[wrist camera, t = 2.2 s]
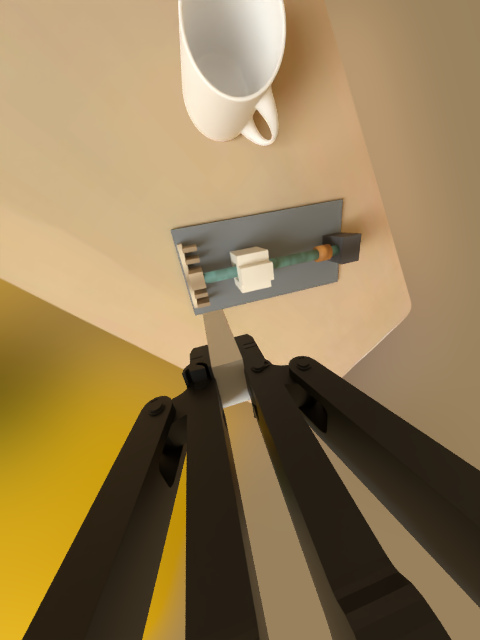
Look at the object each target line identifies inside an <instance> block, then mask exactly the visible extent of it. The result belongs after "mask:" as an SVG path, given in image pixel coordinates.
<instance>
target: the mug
mask: <svg viewBox="0 0 480 640" xmlns="http://www.w3.org/2000/svg"><path fill="white" fill-rule="evenodd" d="M178 10H179V31H180V52H181V73H182V91H183V97H184V102H185V106H186V109H187V112H188V114H189V116H190V118H191V120H192V122H193V123H194V125H195V126H196V128H197V129H198V130H199V131H200V132H201V133H202V134H203V135H205V136H206V137H208V138H209V139H212V140H214V141H219V142H226V141H230V140H232V139H234V138H236V137H237V136H238V135H240V134H242V135H244V136H245V137H246V138H247V139H249V140H250V141H252V142H254V143H255V144H258V145H262V146H266V145H270V144H272V143H273V142H274V141H275V140H276V138H277V135H278V130H279V120H278V113H277V108H276V104H275V100H274V97H273V93H272V88H271V84H272V82H273V80H274V79H275V77H276V75H277V73H278V71H279V68H280V65H281V62H282V59H283V55H284V49H285V41H286V15H285V7H284V1H283V0H178ZM256 110H258V111H259V113H260V114H261V115H262V116H263V118H264V119H265V121H266V122H267V124H268V126H269V128H270V130H271V134H272V138H271V139H270V140H267V139H265V138H264V137H263V136H262V135H261V134H260V133H259V131H258V129H257V128H256V125H255V123H254V120H253V115H254V113H255V111H256Z"/></svg>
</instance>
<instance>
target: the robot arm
mask: <svg viewBox="0 0 480 640" xmlns="http://www.w3.org/2000/svg"><path fill="white" fill-rule="evenodd" d="M203 318H204V324H205V330H206V336H207V342H208V345H205V346H201V347H197V348H193V350H192V351H191V353H190V364H189V365H188V366H186V368H185V369H184V370H183V373H182V375H183V377H184V380H185V383H186V385H187V389H186V390H185V391H184V392H183V393H182V394H180V395H179V396H177V397H175V398H173V399H172V400H171V398H169V397H167V396H160V397H156V398H154V399H153V400H151V401H149V402H148V403H147V404H146V405H145V406H144V408H143V409H142V410H141V412H140V414H139V416H138V418H137V420H136V422H135V424H134V426H133V428H132V430H131V432H130V433H129V435H128V437H127V439H126V441H125V443H124V445H123V447H122V449H121V451H120V453H119V455H118V457H117V458H116V460H115V462H114V464H113V466H112V468H111V470H110V472H109V474H108V476H107V478H106V480H105V481H104V483H103V485H102V487H101V489H100V491H99V493H98V495H97V497H96V499H95V501H94V503H93V504H92V506H91V508H90V510H89V512H88V514H87V516H86V518H85V520H84V522H83V524H82V526H81V528H80V530H79V531H78V533H77V535H76V537H75V539H74V541H73V543H72V545H71V547H70V549H69V551H68V552H67V554H66V556H65V558H64V560H63V562H62V564H61V566H60V568H59V570H58V572H57V574H56V576H55V577H54V579H53V582H52V583H51V585H50V587H49V589H48V591H47V593H46V595H45V597H44V599H43V601H42V602H41V604H40V606H39V608H38V610H37V612H36V614H35V616H34V618H33V620H32V622H31V624H30V625H29V627H28V630H27V631H26V633H25V635H24V637H23V639H22V640H142V638H143V633H144V628H145V625H146V621H147V616H148V612H149V607H150V604H151V599H152V595H153V591H154V587H155V582H156V578H157V574H158V570H159V566H160V561H161V557H162V553H163V549H164V545H165V540H166V536H167V532H168V527H169V523H170V519H171V515H172V511H173V506H174V502H175V498H176V494H177V490H178V485H179V481H180V477H181V472H182V469H183V464H184V460H185V456H186V452H187V482H186V489H187V490H186V494H187V495H186V626H185V627H186V630H185V633H186V634H185V637H186V638H185V640H269V638H268V633H267V627H266V623H265V617H264V612H263V607H262V603H261V597H260V592H259V587H258V581H257V576H256V571H255V566H254V561H253V556H252V551H251V546H250V541H249V536H248V530H247V525H246V520H245V515H244V510H243V505H242V500H241V494H240V489H239V484H238V479H237V474H236V469H235V464H234V459H233V454H232V448H231V444H230V438H229V433H228V428H227V423H226V418H225V414H224V410H223V408H225V407H228V406H231V405H234V404H238V403H241V402H244V401H248V400H250V398H251V401H252V406H253V412H254V417H255V418H256V419H257V421H258V425H259V427H260V430H261V433H262V436H263V438H264V442H265V444H266V447H267V450H268V453H269V456H270V459H271V462H272V464H273V467H274V470H275V473H276V476H277V479H278V482H279V485H280V487H281V490H282V493H283V496H284V499H285V502H286V505H287V507H288V510H289V513H290V516H291V519H292V522H293V525H294V528H295V530H296V533H297V536H298V539H299V542H300V545H301V548H302V551H303V553H304V556H305V559H306V562H307V565H308V568H309V571H310V574H311V576H312V579H313V582H314V585H315V587H316V591H317V593H318V596H319V599H320V602H321V605H322V608H323V611H324V613H325V617H326V620H327V623H328V626H329V629H330V633H331V636H332V640H451V638H450V637H449V635H448V634H447V632H446V630H445V629H444V627H443V626H442V624H441V622H440V621H439V620H438V618H437V616H436V615H435V613H434V612H433V611H432V609H431V608H430V606H429V605H428V603H427V602H426V600H425V599H424V598H423V596H422V595H421V594H420V593H419V591H418V590H417V589H416V588H415V586H414V585H413V584H412V583H411V582H410V581H409V580H407V579H406V578H405V577H404V576H403V575H402V574H401V573H399V572H398V571H397V569H396V568H395V567H394V566H393V564H392V563H391V561H390V560H389V558H388V557H387V555H386V554H385V552H384V550H383V549H382V547H381V545H380V544H379V542H378V540H377V539H376V537H375V535H374V534H373V532H372V530H371V529H370V527H369V525H368V524H367V522H366V520H365V519H364V517H363V515H362V514H361V512H360V510H359V509H358V507H357V505H356V504H355V502H354V500H353V499H352V497H351V495H350V494H349V492H348V490H347V489H346V487H345V485H344V484H343V482H342V480H341V479H340V477H339V475H338V474H337V472H336V470H335V469H334V467H333V465H332V464H331V462H330V460H329V459H328V457H327V455H326V454H325V452H324V450H323V449H322V447H321V445H320V444H319V442H318V440H317V439H316V437H315V435H314V434H313V432H312V430H311V429H310V427H311V428H312V429H313V431H314V432H316V434H317V435H318V436H319V437H320V438H321V439H322V440H323V441H324V442H325V443H326V444H327V445H328V446H329V448H330V449H331V450H332V451H333V452H334V453H335V454H336V455H337V456H338V457H339V458H340V459H341V460H342V461H343V463H345V465H346V466H347V467H348V468H349V469H350V470H351V471H352V472H353V473H354V474H355V475H356V476H357V477H358V479H359V480H360V481H361V482H362V483H363V484H364V485H365V486H366V487H367V488H368V489H369V490H370V491H371V492H372V493H373V494H374V495H375V497H376V498H377V499H378V500H379V501H380V502H381V503H382V504H383V505H384V506H385V507H386V508H387V509H388V510H389V512H390V513H391V514H392V515H393V516H394V517H395V518H396V519H397V520H398V521H399V522H400V523H401V524H402V525H403V526H404V528H405V529H406V530H407V531H408V532H409V533H410V534H411V535H412V536H413V537H414V538H415V539H416V540H417V541H418V542H419V543H420V545H421V546H422V547H423V548H424V549H425V550H426V551H427V552H428V553H429V554H430V555H431V556H432V557H433V558H434V559H435V561H436V562H437V563H438V564H439V565H440V566H441V567H442V568H443V569H444V570H445V571H446V572H447V573H448V574H449V575H450V576H451V577H452V579H453V580H454V581H455V582H456V583H457V584H458V585H459V586H460V587H461V588H462V589H463V590H464V591H465V592H466V594H467V595H468V596H469V597H470V598H471V599H472V600H473V601H474V602H475V603H476V604H477V605H478V606H479V607H480V471H479V470H478V469H476V468H475V467H473V466H472V465H470V464H469V463H467V462H465V461H464V460H463V459H461V458H460V457H458V456H457V455H455V454H453V453H452V452H451V451H449V450H448V449H446V448H445V447H444V446H442V445H441V444H439V443H438V442H436V441H434V440H433V439H432V438H430V437H429V436H427V435H426V434H424V433H423V432H421V431H420V430H418V429H417V428H415V427H414V426H412V425H411V424H409V423H408V422H406V421H405V420H403V419H402V418H400V417H399V416H397V415H396V414H394V413H393V412H391V411H390V410H388V409H387V408H385V407H384V406H382V405H381V404H380V403H378V402H377V401H375V400H374V399H372V398H371V397H369V396H367V395H366V394H365V393H363V392H362V391H360V390H359V389H357V388H356V387H354V386H353V385H351V384H350V383H348V382H347V381H345V380H344V379H342V378H341V377H339V376H338V375H336V374H335V373H333V372H332V371H330V370H329V369H327V368H326V367H324V366H323V365H321V364H320V363H318V362H317V361H316V360H314V359H312V358H310V357H306V356H298V357H295V358H293V359H292V360H290V362H289V365H283V366H279V365H273V364H271V362H270V361H268V360H266V359H265V358H264V356H263V355H262V353H261V351H260V349H259V348H258V346H257V344H256V343H255V341H254V339H253V337H251V336H250V335H248V334H245V335H241V336H237V337H233V334H232V332H231V329H230V327H229V324H228V322H227V319H226V317H225V314H224V312H223V310H222V309H220V310H216V311H212V312H207V313H203ZM309 426H310V427H309Z"/></svg>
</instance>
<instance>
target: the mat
mask: <svg viewBox="0 0 480 640" xmlns="http://www.w3.org/2000/svg"><path fill="white" fill-rule="evenodd" d="M342 203H343V199H341V200H335V201H330V202H324V203H319V204H313V205H308V206H302V207H296V208H291V209H285V210H280V211H274V212H268V213H263V214H257V215H252V216H246V217H241V218H235V219H229V220H224V221H218V222H213V223H207V224H202V225H196V226H190V227H185V228H179V229H174V230H171V233H172V236H173V240H174V243H175V247H176V250H177V254H178V257H179V261H180V264H181V268H182V271H183V275H184V278H185V281H186V285H187V288H188V292H189V295H190V299H191V302H192V306H193V309H194V313H195V315H199V314H203V313H207V312H212V311H216V310H220V309H225V308H229V307H233V306H237V305H241V304H246V303H250V302H254V301H258V300H262V299H266V298H271V297H275V296H279V295H283V294H287V293H292V292H296V291H300V290H304V289H308V288H313V287H317V286H321V285H325V284H329V283H334V282H337V281H338V266H339V263H335V262H331V261H327V260H325V261H320V262H315V261H314V260H313V261H308V262H304V263H299V264H295V265H290V266H285V267H281V268H276V269H273V272H274V280H271V287H268V288H263V289H259V290H255V291H250V292H246V293H242V292H241V291H240V289H239V288H238V287H237V286H236V284H235V280H234V278H231V279H226V280H222V281H217V282H212V283H208V284H206V289H207V293H208V297H209V301H210V306H206V307H202V308H194V305H193V301H192V298H191V294H190V291H189V287H188V284H187V280H186V277H185V273H184V270H183V266H182V263H181V259H180V256H179V252H178V249H177V244H180V243H182V246H188V245H194V244H196V247H197V251H193V252H188V253H185V257H190V256H195V255H198V256H199V260H200V262H199V263H194V264H189V265H188V268H192V267H197V266H201V268H202V272H203V273H206V272H210V271H215V270H220V269H225V268H229V267H232V263H231V257H230V252H231V251H236V250H241V249H246V248H251V247H256V246H257V247H260V248H263V249H267V250H268V255H269V259H272V258H277V257H281V256H286V255H291V254H295V253H300V252H305V251H310V250H313V248H314V247H316V246H321V245H322V236H323V235H328V234H333V233H341V219H342Z"/></svg>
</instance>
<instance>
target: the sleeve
mask: <svg viewBox="0 0 480 640" xmlns="http://www.w3.org/2000/svg"><path fill="white" fill-rule="evenodd" d="M230 257H231V263H232V267H234V266H236V267H237V273H238V277H235V278H234V280H235V284H236V286H237V287H238V288H239V289H240V291H241V292H242V293H246V292H250V291H255V290H259V289H263V288H268V287H271V280H274V272H273V262H271V261H269V255H268V250H267V249H263V248H260V247H257V246H256V247H251V248H246V249H241V250H236V251H231V252H230Z"/></svg>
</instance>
